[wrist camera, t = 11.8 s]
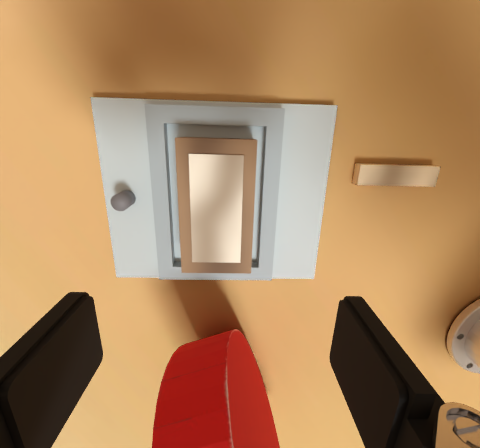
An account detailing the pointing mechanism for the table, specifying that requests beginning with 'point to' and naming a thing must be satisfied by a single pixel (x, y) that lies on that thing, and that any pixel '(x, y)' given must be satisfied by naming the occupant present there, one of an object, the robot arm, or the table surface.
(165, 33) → the table surface
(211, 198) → the frame
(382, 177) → the prop batten
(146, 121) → the white cabinet door
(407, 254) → the table surface
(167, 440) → the toy clock
